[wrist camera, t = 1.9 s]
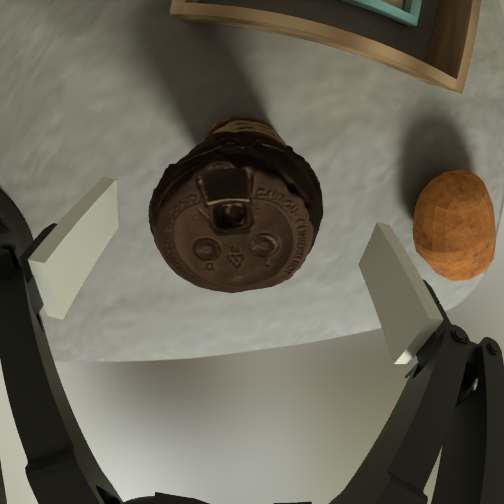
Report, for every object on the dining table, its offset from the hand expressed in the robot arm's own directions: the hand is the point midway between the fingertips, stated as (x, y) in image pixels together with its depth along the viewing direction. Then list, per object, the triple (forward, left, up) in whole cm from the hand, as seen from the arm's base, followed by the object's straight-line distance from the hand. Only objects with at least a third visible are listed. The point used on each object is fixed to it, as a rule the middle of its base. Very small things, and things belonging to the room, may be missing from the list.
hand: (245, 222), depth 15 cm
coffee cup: (0, 0, -12) cm, 12 cm away
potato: (+20, -1, -12) cm, 23 cm away
